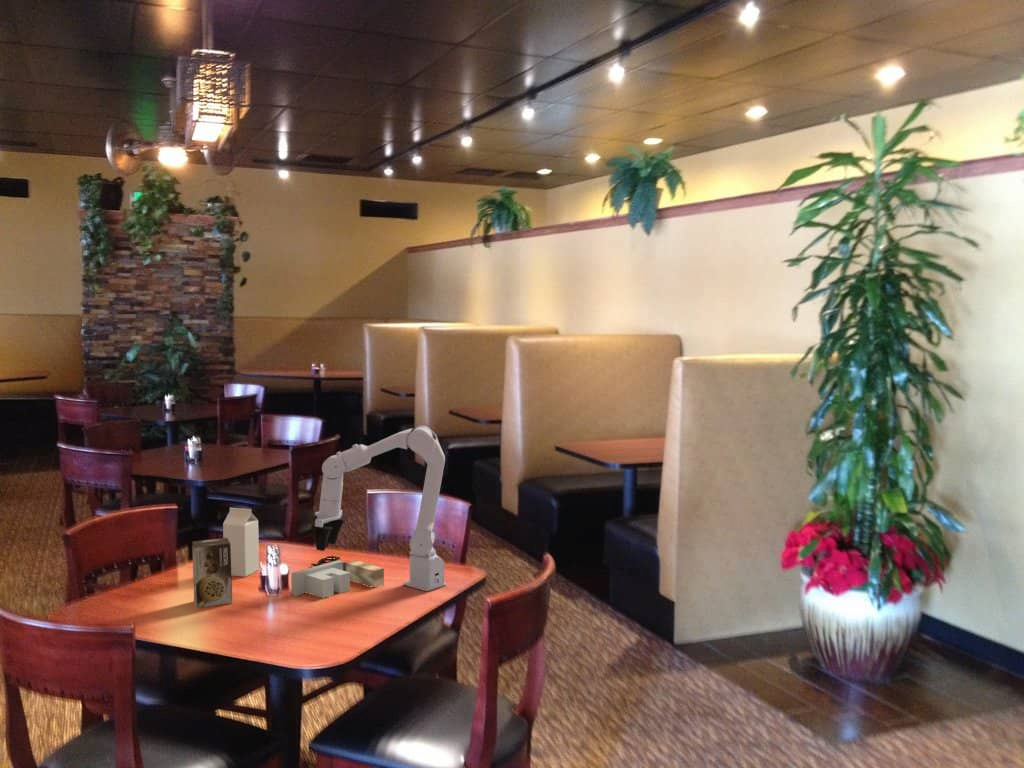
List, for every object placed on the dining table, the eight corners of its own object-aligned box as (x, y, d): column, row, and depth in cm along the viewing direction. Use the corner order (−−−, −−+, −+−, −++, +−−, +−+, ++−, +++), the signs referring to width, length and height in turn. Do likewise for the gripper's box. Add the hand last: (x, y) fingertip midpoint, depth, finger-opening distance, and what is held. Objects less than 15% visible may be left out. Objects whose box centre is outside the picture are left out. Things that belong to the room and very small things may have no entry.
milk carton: (245, 577, 251) (244, 511, 249) (223, 575, 253) (222, 510, 251) (259, 570, 258) (258, 506, 256) (238, 568, 260) (236, 505, 258)
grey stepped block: (359, 587, 242) (359, 566, 242) (312, 601, 230) (312, 579, 229) (338, 580, 248) (338, 560, 247) (291, 594, 236) (291, 572, 235)
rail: (383, 585, 244) (383, 568, 244) (374, 588, 242) (374, 570, 241) (348, 575, 254) (348, 558, 254) (339, 578, 251) (339, 560, 251)
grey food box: (229, 596, 234) (228, 537, 233) (232, 603, 228) (231, 542, 227) (193, 601, 230) (191, 540, 229) (195, 608, 224) (194, 546, 223)
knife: (305, 585, 245) (305, 580, 245) (284, 583, 247) (284, 578, 247) (345, 560, 270) (345, 556, 269) (326, 559, 271) (326, 554, 271)
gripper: (327, 492, 251) (322, 538, 252) (306, 501, 237) (301, 550, 238) (350, 495, 250) (346, 542, 251) (331, 505, 235) (326, 555, 237)
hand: (326, 546), depth 244 cm, fingers open, 7 cm apart
